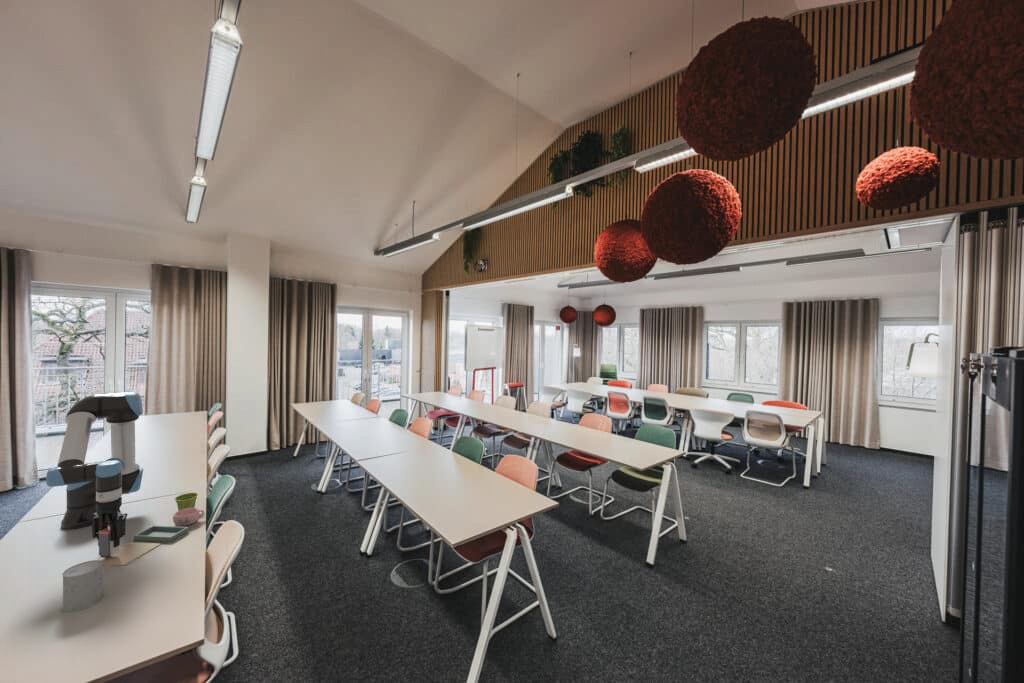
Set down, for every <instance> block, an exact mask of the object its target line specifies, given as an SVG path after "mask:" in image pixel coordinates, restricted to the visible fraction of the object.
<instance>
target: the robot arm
mask: <svg viewBox="0 0 1024 683" xmlns="http://www.w3.org/2000/svg"><path fill="white" fill-rule="evenodd" d="M143 413H144V410H143V402H142V397H141V394H139V393H138V392H126V391H125V392H117V393H102V394H100V393H99V394H92V395H89V396H85V397H84V398H82V399H81V400H79V401H78V402H76V403H75V404H73V406H72V407H70V409H69V410H68V411H67V413H66V416H65V423H66V424H67V425H66V429H65V434H64V437H63V442H62V446H61V449H60V453H59V456H58V463H57V466H56V467H52V468H49V469H48V470H47V472H46V476H45V477H46V478H45V481H46V482H45V483H46V486H48V487H50V488H53V487H62V486H66V489H65V491H66V511H65V513H64V515H63V518H62V520H61V521H60V522H61V523H60V528H61V529H63V530H72V529H73V530H75V529H76V530H77V529H81V528H86V527H90V526H92V527H91V529H92V530H91V532H92V538H93V539H95V538H96V539H97V546H98V547H99V531H100V530H103V529H105V528H107V527H109V526H110V531H111V536H112V540H110V556H113V555H114V554H116V553H118V552H119V548H120V544H121V538H123V537H125V536H126V525H127V524H126V521H127V517H128V513H127V512H126V513H125V512H124V513H122V512H121V509H120V508H121V506H122V505H123V503H122V501H123V498H122V495H127V494H128V495H129V494H131V493H137V492H138V491H140V488H141V484H142V479H143V474H144V468H141V467H140V465H139V463H136V421H137V420H139V418H140V416H141V415H143ZM97 419H105V422H106V423H107V424H110V450H111V452H110V453H111V456H110V458H107V460H104V461H96V462H88V463H85V461H86V456H87V451H88V447H89V441H90V435H91V431H92V425H93V424H94V423H95V422H96V420H97ZM116 535H117V536H116Z"/></svg>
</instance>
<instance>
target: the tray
mask: <svg viewBox="0 0 1024 683" xmlns="http://www.w3.org/2000/svg"><path fill="white" fill-rule="evenodd" d="M188 533H189V527H188V526H176V525H175V526H171V525H169V526H168V525H152V526H150V527H148V528H146V529H144V530H142V531H140V532H138V533H137V534H134V535H133V542H142V543H165V544H166V543H168V544H169V543H173V542H174V541H176V540H178V539H179V538H181V537H183V536H185V535H187V534H188Z"/></svg>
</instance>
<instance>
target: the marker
mask: <svg viewBox="0 0 1024 683" xmlns="http://www.w3.org/2000/svg"><path fill="white" fill-rule="evenodd" d="M116 536H117V535H116ZM110 540H112V536H111V531H110V526H109V525H108V527H107V528H105V529H103V530H100V531H99V546H98V555H99V556H100V557H99V558H109V557H111V556H110Z"/></svg>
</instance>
